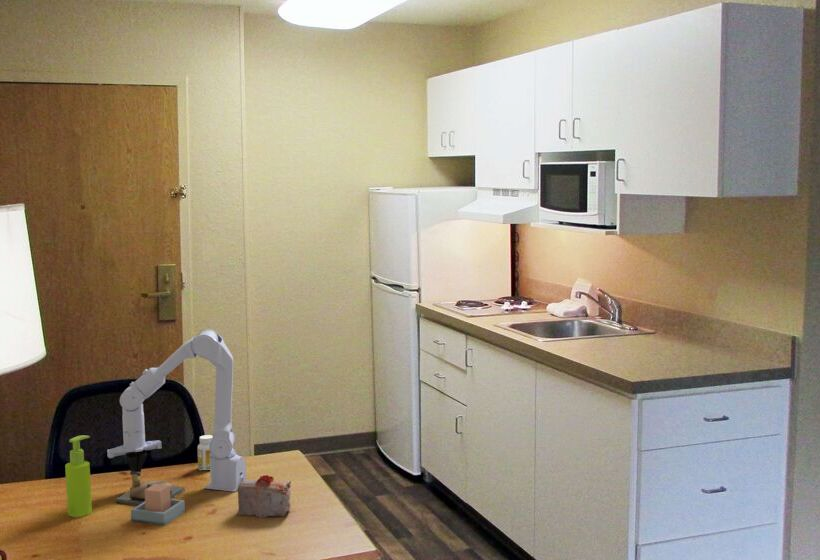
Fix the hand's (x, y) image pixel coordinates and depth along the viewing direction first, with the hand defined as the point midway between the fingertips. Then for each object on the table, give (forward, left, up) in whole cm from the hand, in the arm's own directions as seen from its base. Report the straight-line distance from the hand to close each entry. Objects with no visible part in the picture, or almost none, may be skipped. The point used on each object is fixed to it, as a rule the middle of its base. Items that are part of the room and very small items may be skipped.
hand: (136, 477), depth 249 cm
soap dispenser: (+4, +19, -4) cm, 19 cm away
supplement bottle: (-10, -21, -4) cm, 24 cm away
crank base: (-7, +4, -3) cm, 9 cm away
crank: (-7, +4, -2) cm, 8 cm away
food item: (-42, +6, -4) cm, 43 cm away
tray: (-17, +16, -3) cm, 23 cm away
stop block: (-17, +16, -3) cm, 23 cm away
